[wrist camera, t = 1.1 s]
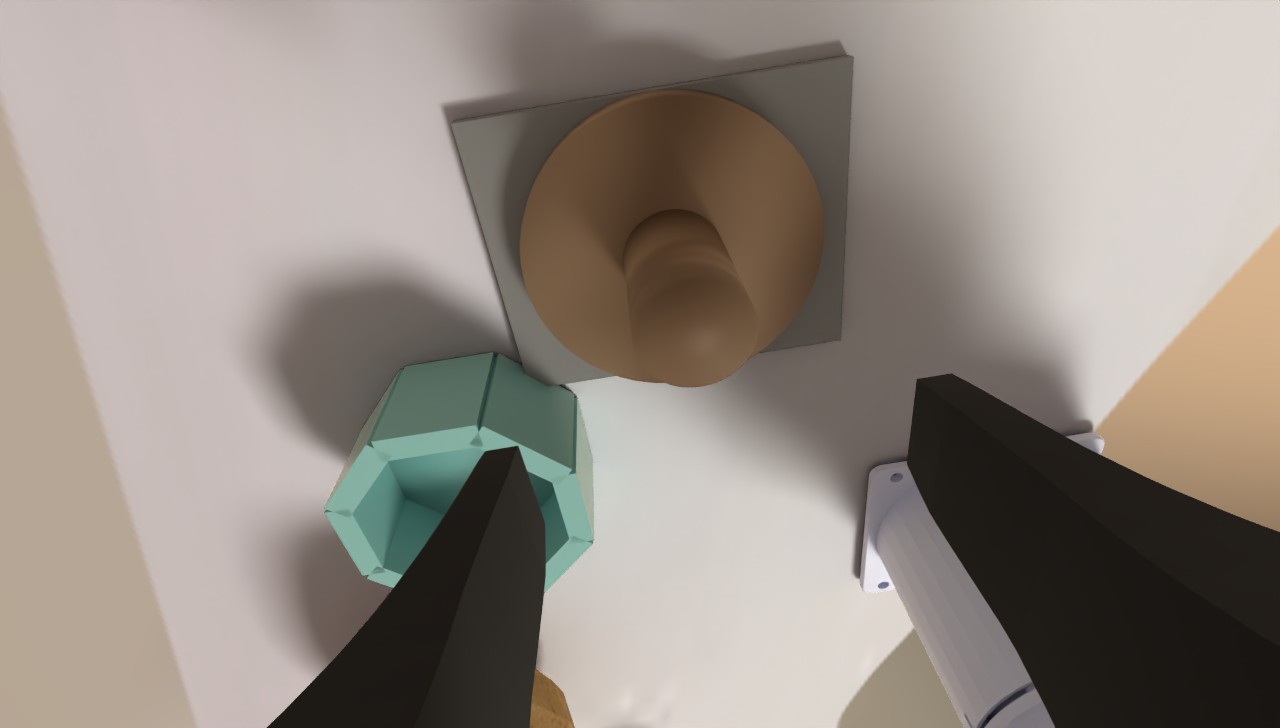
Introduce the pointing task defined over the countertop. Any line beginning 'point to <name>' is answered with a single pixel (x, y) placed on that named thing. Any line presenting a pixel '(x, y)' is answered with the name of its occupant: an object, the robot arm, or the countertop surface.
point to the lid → (671, 237)
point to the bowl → (460, 461)
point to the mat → (522, 139)
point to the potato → (548, 705)
